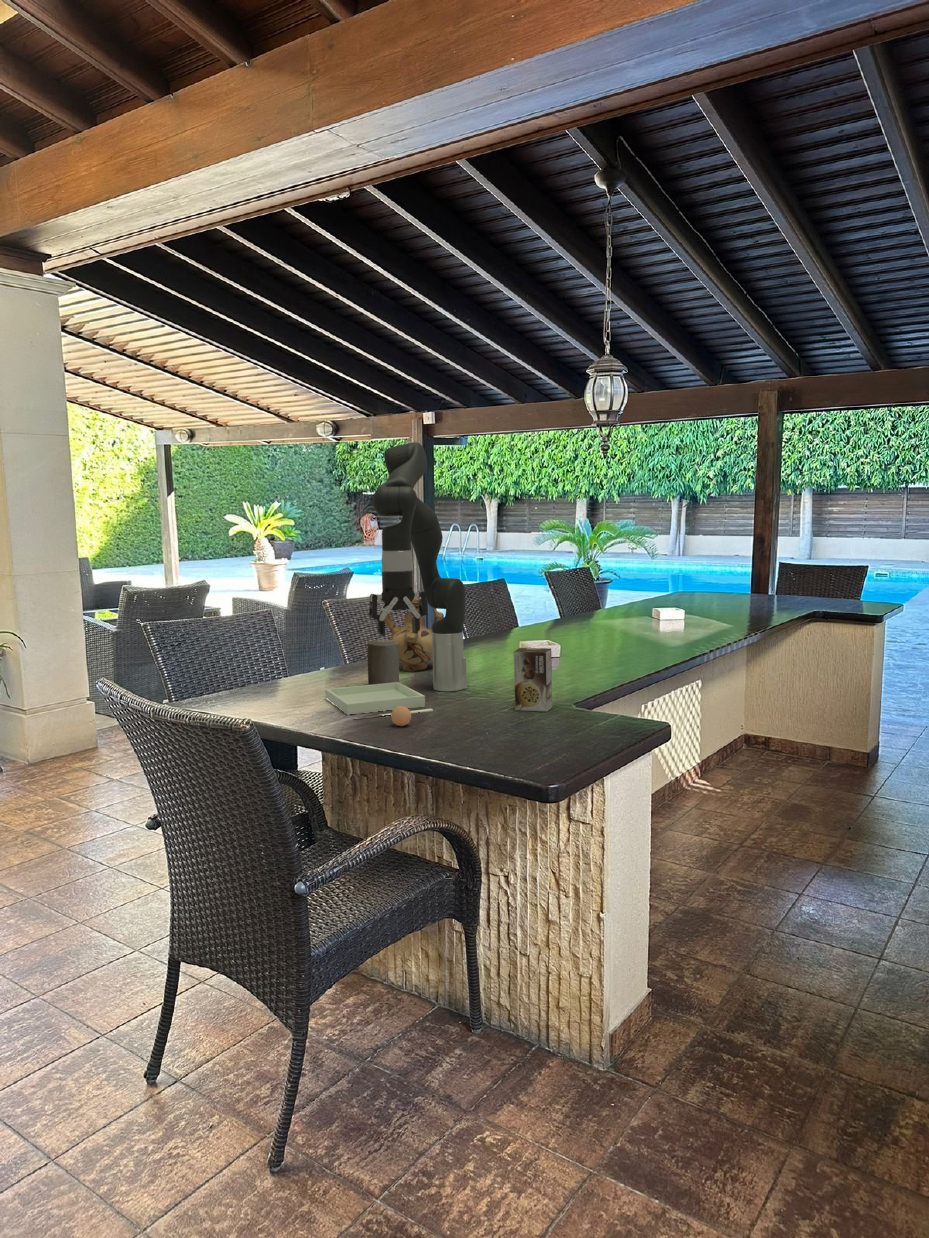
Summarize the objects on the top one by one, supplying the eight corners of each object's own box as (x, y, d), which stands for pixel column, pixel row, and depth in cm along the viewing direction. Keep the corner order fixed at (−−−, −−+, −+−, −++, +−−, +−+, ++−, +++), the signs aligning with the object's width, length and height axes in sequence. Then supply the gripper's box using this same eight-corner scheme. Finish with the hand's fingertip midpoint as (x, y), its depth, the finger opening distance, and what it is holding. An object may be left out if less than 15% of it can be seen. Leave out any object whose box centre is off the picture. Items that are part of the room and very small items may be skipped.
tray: (398, 691, 261) (397, 681, 260) (425, 706, 241) (424, 695, 240) (325, 699, 252) (325, 689, 252) (347, 715, 232) (347, 704, 232)
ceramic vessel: (412, 676, 285) (410, 599, 282) (373, 669, 298) (371, 595, 295) (451, 668, 298) (450, 594, 295) (412, 662, 311) (411, 591, 308)
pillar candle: (362, 688, 267) (361, 639, 265) (377, 682, 276) (376, 634, 274) (390, 690, 263) (390, 641, 261) (405, 684, 272) (404, 636, 270)
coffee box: (553, 706, 238) (552, 648, 236) (547, 712, 232) (546, 651, 230) (520, 705, 241) (519, 646, 239) (513, 710, 235) (513, 650, 233)
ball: (407, 722, 223) (406, 703, 223) (414, 726, 219) (413, 707, 218) (388, 724, 221) (388, 705, 221) (395, 729, 217) (394, 709, 216)
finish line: (430, 709, 237) (430, 708, 237) (433, 710, 235) (433, 709, 235) (352, 718, 228) (352, 717, 228) (353, 720, 227) (353, 719, 227)
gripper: (418, 566, 221) (420, 630, 223) (364, 569, 216) (366, 634, 218) (429, 568, 215) (431, 634, 217) (374, 571, 209) (376, 638, 211)
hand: (398, 634), depth 217 cm, fingers open, 8 cm apart
